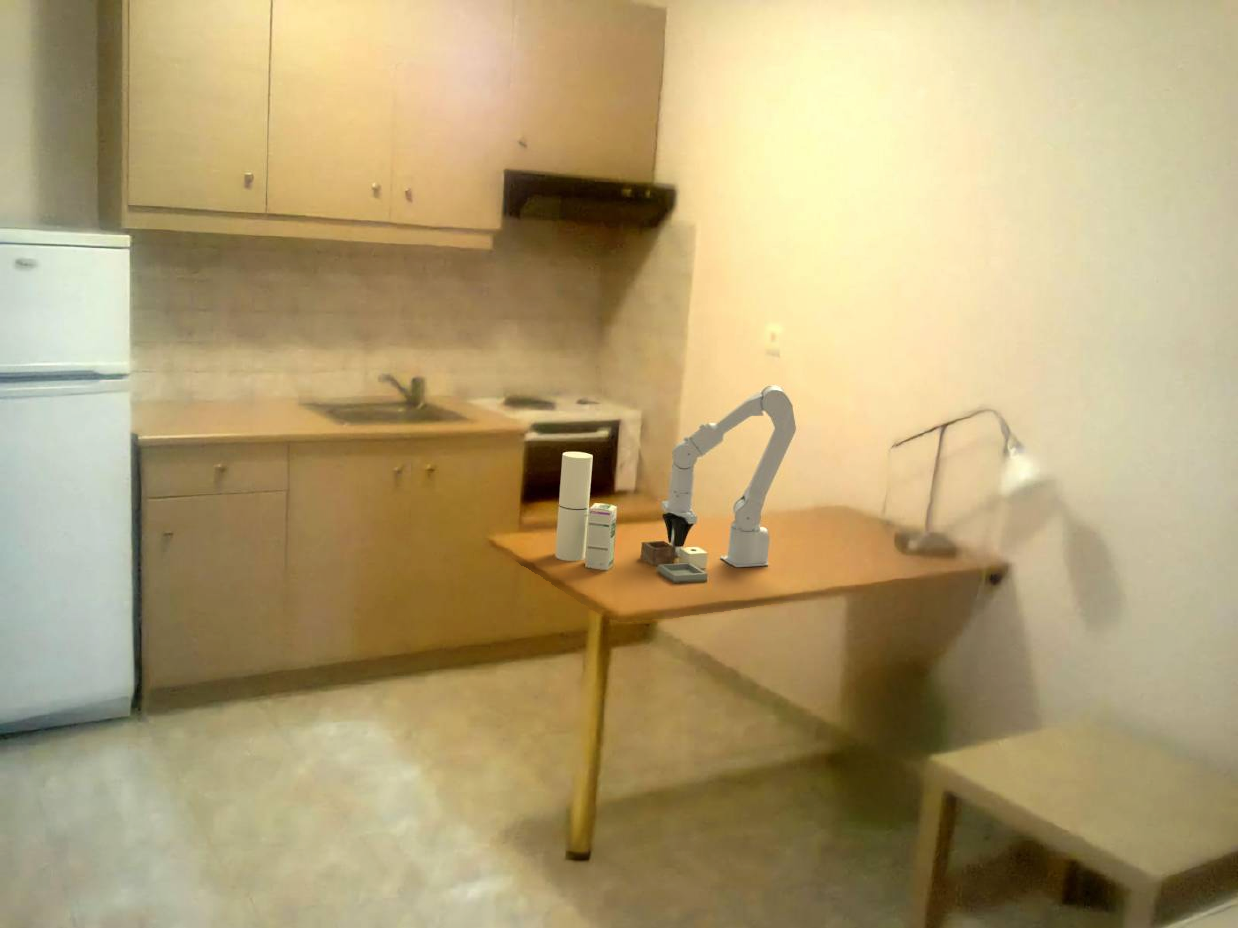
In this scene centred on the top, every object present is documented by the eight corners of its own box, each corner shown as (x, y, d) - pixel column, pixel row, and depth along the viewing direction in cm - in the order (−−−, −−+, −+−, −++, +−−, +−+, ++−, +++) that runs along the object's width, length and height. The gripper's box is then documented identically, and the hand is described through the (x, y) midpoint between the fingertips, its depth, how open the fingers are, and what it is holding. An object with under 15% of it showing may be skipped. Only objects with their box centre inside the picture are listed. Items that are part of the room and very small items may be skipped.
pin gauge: (676, 553, 267) (679, 523, 265) (681, 557, 265) (684, 525, 263) (667, 554, 266) (670, 523, 264) (672, 557, 264) (675, 526, 262)
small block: (696, 562, 262) (697, 546, 261) (706, 568, 257) (707, 552, 257) (678, 563, 260) (679, 547, 259) (687, 569, 255) (689, 553, 254)
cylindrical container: (548, 555, 257) (556, 453, 252) (570, 550, 262) (577, 450, 257) (569, 562, 252) (577, 459, 247) (590, 558, 258) (599, 456, 253)
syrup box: (608, 570, 249) (613, 510, 246) (583, 567, 250) (588, 507, 247) (613, 564, 254) (618, 505, 251) (589, 560, 255) (594, 501, 252)
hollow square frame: (662, 556, 264) (663, 540, 263) (673, 563, 259) (675, 547, 258) (640, 557, 261) (641, 542, 260) (651, 565, 256) (653, 549, 255)
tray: (689, 569, 255) (689, 562, 254) (706, 581, 247) (707, 573, 247) (657, 571, 251) (658, 564, 251) (674, 583, 244) (675, 575, 243)
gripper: (653, 484, 267) (648, 536, 269) (680, 498, 254) (675, 553, 257) (677, 483, 270) (672, 535, 272) (706, 498, 257) (701, 552, 260)
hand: (675, 544), depth 265 cm, fingers closed on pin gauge, 3 cm apart
